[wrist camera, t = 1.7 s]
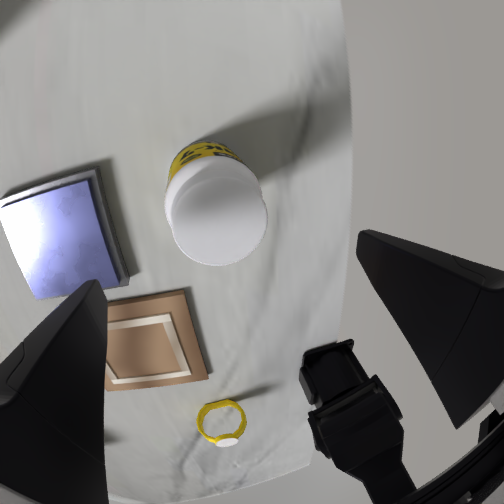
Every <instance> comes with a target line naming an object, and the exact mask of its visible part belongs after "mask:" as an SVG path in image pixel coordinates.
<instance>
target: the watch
mask: <svg viewBox="0 0 504 504" xmlns="http://www.w3.org/2000/svg"><path fill="white" fill-rule="evenodd" d="M225 406H231V407H234V408H236V409H238V411H239V412H240V413H241V418H242V421H241V423H240V426H239V429H238V430H236V431H235V432H234V433H233V434H223V435H220V436H218V437H216V438H214V437H210V436H208V435H206V434H205V433H204V429H203V426H202V424H203V420H204V416H205V415H206V414H207V413H208V412H209V411H210V410H212V409H216V408H221V407H225ZM196 421H197V422H196V423H197V427H198V430H199V432H200V433H201V434H202V435H203V436H204V437H205V438H206V439H207V440H208V441H210V442H214V443H215V445H216V446H218V447H227V446H231V445H234V444H236V443H237V442H238V438H239V437H240V436H241V435H242V434H243V433H244V430H245V428H246V425H247V424H246V423H247V421H246V415H245V413H244V411H243V409H242V408H241V407H240V406H239V405H238V403H236V402H234V401H231V400H229V399H225V400H222V401H219V402H215V403H210V404H206V405H205V406H204V407H203V408H202V409H201V410H200V412H199V413H198V417H197V420H196Z"/></svg>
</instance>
